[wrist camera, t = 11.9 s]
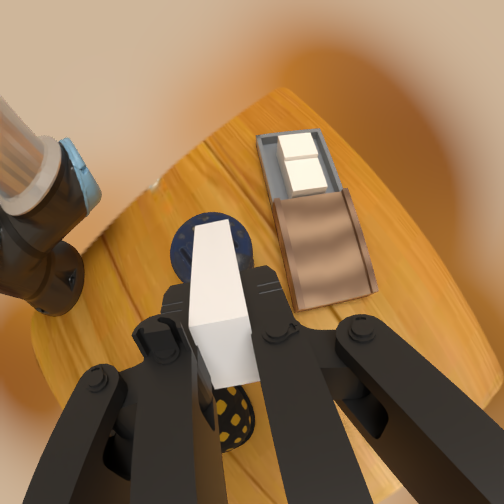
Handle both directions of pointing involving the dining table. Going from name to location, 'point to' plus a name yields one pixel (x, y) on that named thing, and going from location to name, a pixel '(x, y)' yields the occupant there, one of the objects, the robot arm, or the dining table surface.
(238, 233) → the canister
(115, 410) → the robot arm
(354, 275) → the board
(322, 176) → the block
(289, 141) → the block
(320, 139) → the tray
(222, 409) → the yellow spotted black dome
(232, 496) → the dining table surface
